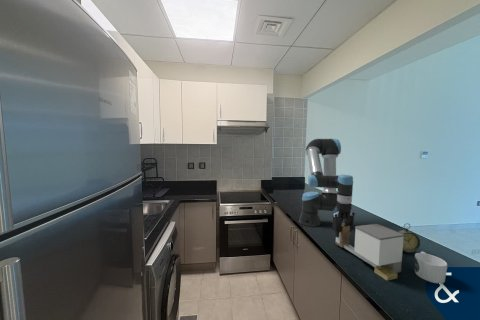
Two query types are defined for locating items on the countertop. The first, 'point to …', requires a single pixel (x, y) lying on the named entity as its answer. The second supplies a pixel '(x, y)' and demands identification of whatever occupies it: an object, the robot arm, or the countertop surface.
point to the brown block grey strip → (345, 243)
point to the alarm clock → (410, 240)
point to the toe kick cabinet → (380, 245)
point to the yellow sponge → (385, 272)
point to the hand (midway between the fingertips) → (342, 241)
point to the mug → (430, 267)
